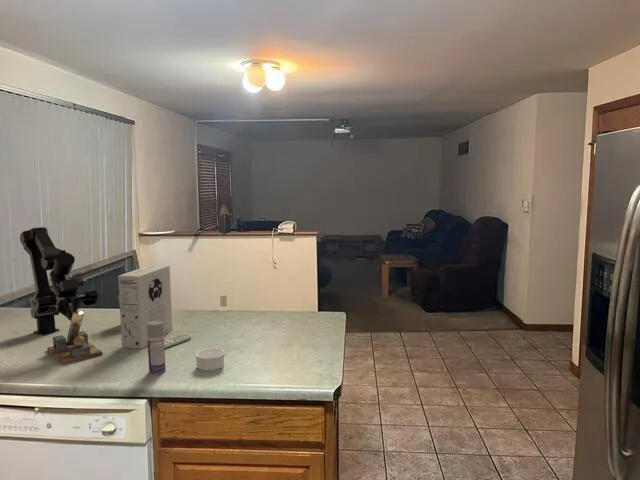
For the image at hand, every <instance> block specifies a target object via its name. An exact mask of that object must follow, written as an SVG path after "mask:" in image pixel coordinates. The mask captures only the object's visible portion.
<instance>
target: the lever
mask: <svg viewBox="0 0 640 480" xmlns="http://www.w3.org/2000/svg"><path fill="white" fill-rule="evenodd" d="M83 319H84V312H83V311H81V310H77V311H75V312H74V313H73V315H72V319H71V321H70V325H69V329H68V333H67V336H66V346H70V345H74V343H73V340H74V338H75V337H77V336H78V334H79V332H80V329H81V326H82V324H83Z"/></svg>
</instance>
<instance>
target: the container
mask: <svg viewBox="0 0 640 480" xmlns="http://www.w3.org/2000/svg"><path fill="white" fill-rule="evenodd" d="M147 335H148V345H147V353H148V357H147V358H148V373H149V374H150V375H154V374H156V375H161V374H164V373H166V371H167V370H166V349H165V335H164V330H163V322H162V321H151V322H148V323H147Z"/></svg>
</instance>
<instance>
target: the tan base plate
mask: <svg viewBox="0 0 640 480" xmlns="http://www.w3.org/2000/svg"><path fill="white" fill-rule="evenodd" d="M66 340H67V337H65V336H64V335H63V334H62V335H61V334H60V335H55V336H52V343H53V344H52V345H53V346H47V348H46V349H47V352H48V353H50V354H51V355H52V356H53V357H54V358H56V359H57V361H59V362H60V363H61V364H62V365H65V364H70V363H74V362H78V361H82V360H86V359H87V360H88V359H91V358H96V357H100V356H103V351H102V350H101V349H100V348H98V347H96V346H95V345H93V343H90V342H89V339H88V332H86V331H84V330H81V331H80V330H79V334H78V336H77V337H75V338H74V340H73V343H74V345H70V346H66Z"/></svg>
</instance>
